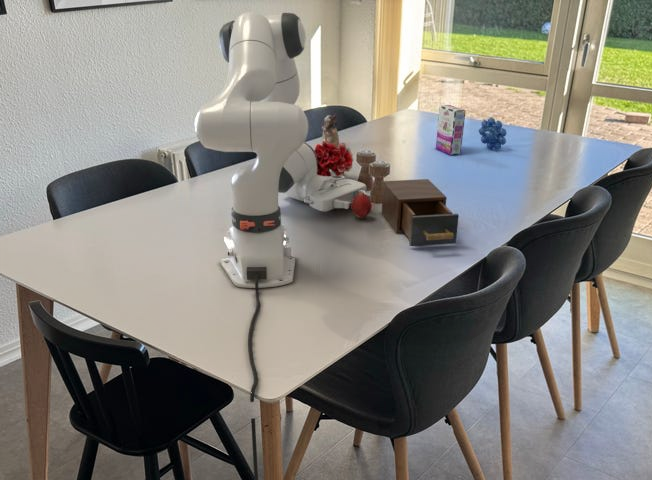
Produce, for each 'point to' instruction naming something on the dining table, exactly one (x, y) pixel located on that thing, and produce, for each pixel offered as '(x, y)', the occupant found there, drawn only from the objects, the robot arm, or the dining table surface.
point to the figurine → (330, 131)
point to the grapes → (492, 133)
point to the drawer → (428, 223)
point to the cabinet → (406, 197)
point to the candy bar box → (450, 129)
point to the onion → (361, 205)
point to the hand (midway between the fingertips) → (359, 201)
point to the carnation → (333, 159)
